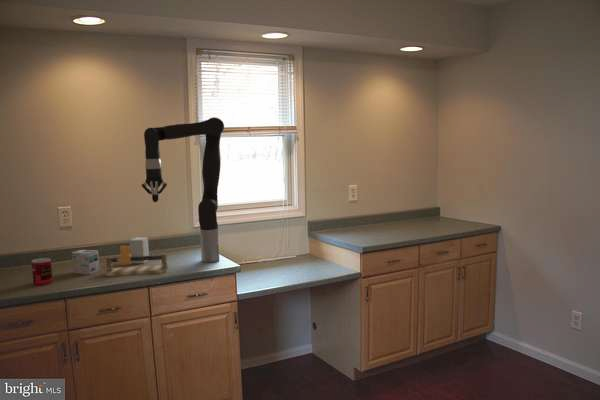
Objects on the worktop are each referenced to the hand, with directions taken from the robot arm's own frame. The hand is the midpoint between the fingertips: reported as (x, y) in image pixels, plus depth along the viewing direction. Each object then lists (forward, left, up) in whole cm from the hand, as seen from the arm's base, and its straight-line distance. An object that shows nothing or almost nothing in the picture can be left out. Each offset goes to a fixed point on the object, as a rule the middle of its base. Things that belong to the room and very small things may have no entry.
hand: (155, 201), depth 249 cm
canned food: (+49, +21, -33) cm, 63 cm away
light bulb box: (+34, +6, -33) cm, 48 cm away
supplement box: (+11, -10, -33) cm, 36 cm away
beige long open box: (+9, +10, -33) cm, 36 cm away
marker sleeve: (+14, +10, -29) cm, 34 cm away
